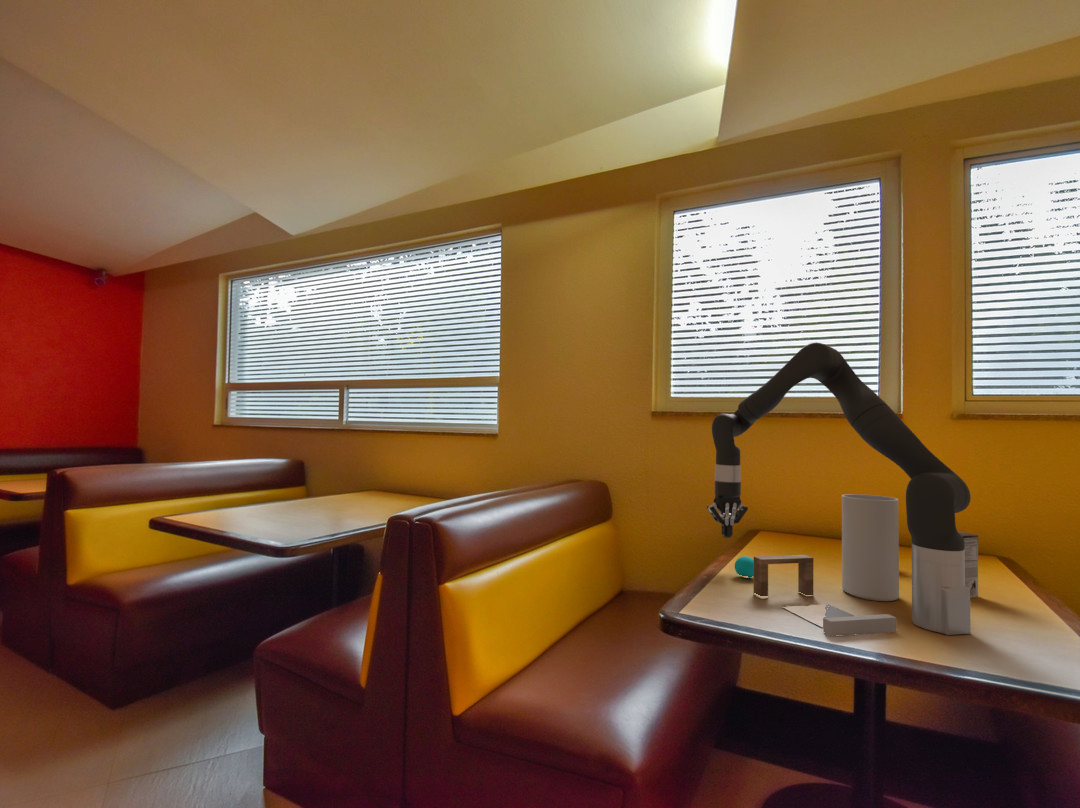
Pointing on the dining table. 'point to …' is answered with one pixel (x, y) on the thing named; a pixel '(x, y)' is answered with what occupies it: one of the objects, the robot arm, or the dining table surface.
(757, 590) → the bridge
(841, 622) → the stopper wall
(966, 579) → the coffee box
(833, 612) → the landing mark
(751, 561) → the ball
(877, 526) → the cylinder vase
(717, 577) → the dining table surface
